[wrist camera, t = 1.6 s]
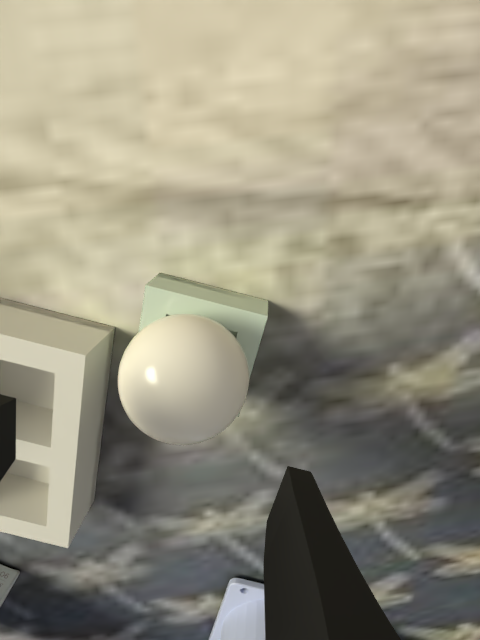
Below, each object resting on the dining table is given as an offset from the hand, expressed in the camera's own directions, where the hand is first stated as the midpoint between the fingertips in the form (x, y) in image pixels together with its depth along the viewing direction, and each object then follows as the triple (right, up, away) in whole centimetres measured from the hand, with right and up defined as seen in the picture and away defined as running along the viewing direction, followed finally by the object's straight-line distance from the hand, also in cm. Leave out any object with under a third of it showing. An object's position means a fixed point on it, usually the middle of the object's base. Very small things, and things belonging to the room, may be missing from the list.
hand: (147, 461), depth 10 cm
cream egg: (0, +2, +4) cm, 4 cm away
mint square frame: (+1, +3, +8) cm, 8 cm away
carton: (-11, 0, +10) cm, 15 cm away
